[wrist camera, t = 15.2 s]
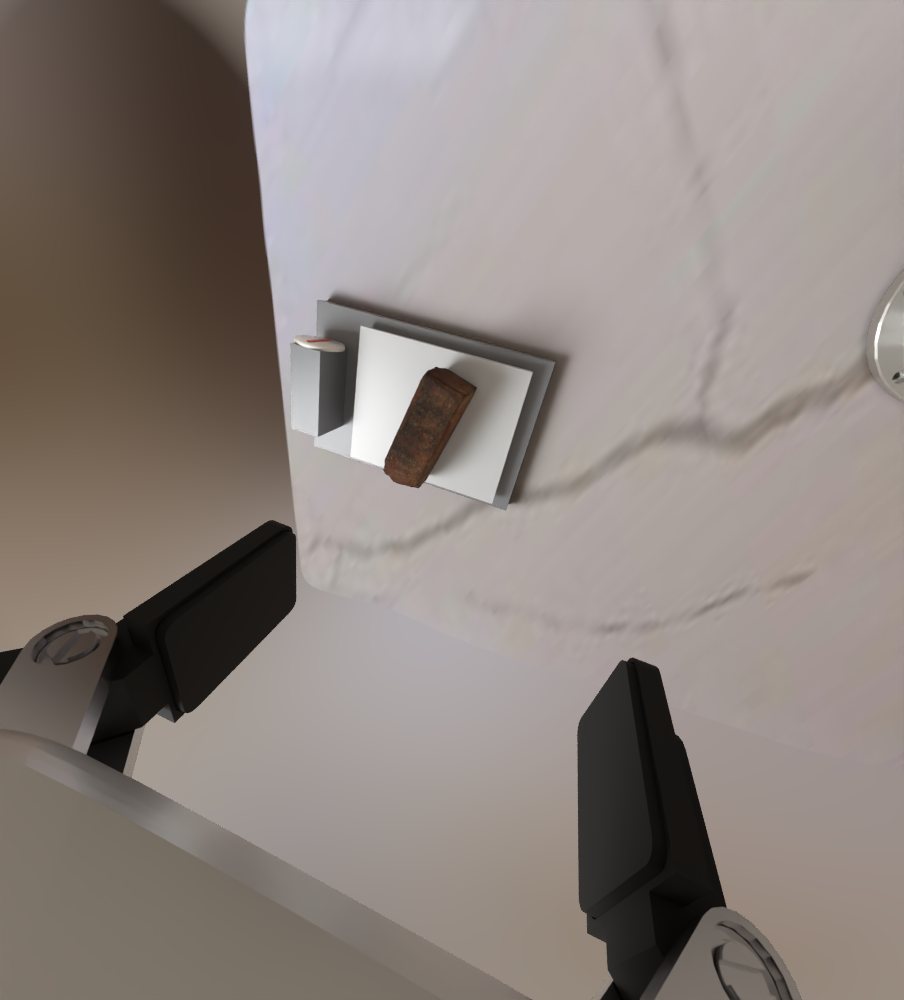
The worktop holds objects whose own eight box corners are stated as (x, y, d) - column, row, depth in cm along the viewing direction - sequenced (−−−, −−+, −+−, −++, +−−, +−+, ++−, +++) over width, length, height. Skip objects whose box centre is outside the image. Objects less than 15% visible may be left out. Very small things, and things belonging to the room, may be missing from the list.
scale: (555, 361, 32) (552, 368, 27) (508, 504, 39) (498, 531, 34) (324, 300, 36) (282, 296, 31) (320, 441, 43) (285, 458, 38)
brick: (441, 363, 32) (422, 369, 28) (479, 387, 32) (465, 397, 28) (396, 457, 38) (375, 474, 33) (428, 478, 37) (411, 497, 33)
